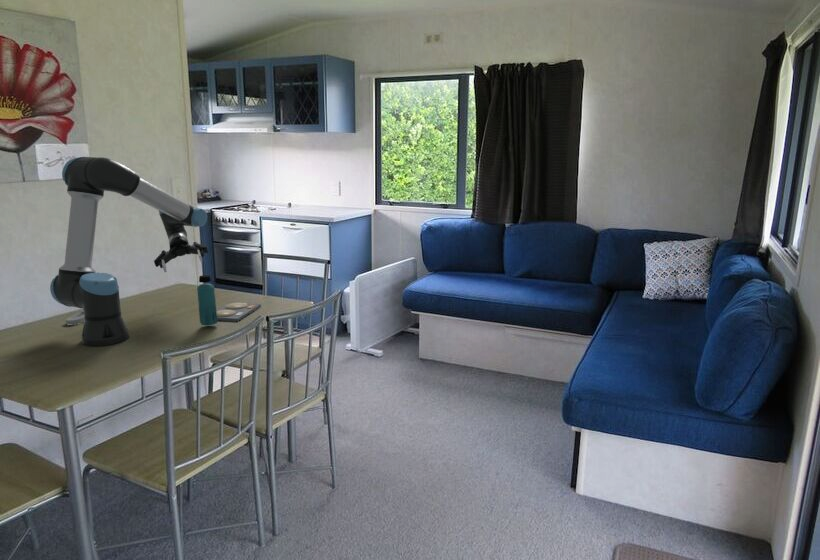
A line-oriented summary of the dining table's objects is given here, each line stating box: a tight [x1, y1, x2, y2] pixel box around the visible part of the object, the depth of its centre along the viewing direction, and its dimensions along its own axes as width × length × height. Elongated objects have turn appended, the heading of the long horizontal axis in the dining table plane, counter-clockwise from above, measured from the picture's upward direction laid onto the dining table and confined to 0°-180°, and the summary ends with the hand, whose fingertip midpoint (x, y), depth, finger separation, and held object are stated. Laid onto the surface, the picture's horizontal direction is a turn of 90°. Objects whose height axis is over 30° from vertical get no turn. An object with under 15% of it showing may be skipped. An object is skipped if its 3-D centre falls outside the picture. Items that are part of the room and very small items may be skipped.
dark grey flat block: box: [216, 302, 262, 322], centre depth 245 cm, size 22×14×2 cm, turn 170°
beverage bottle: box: [196, 274, 218, 326], centre depth 225 cm, size 6×7×20 cm
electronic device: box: [65, 310, 85, 324], centre depth 235 cm, size 5×10×15 cm
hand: (182, 263), depth 228 cm, fingers open, 13 cm apart
